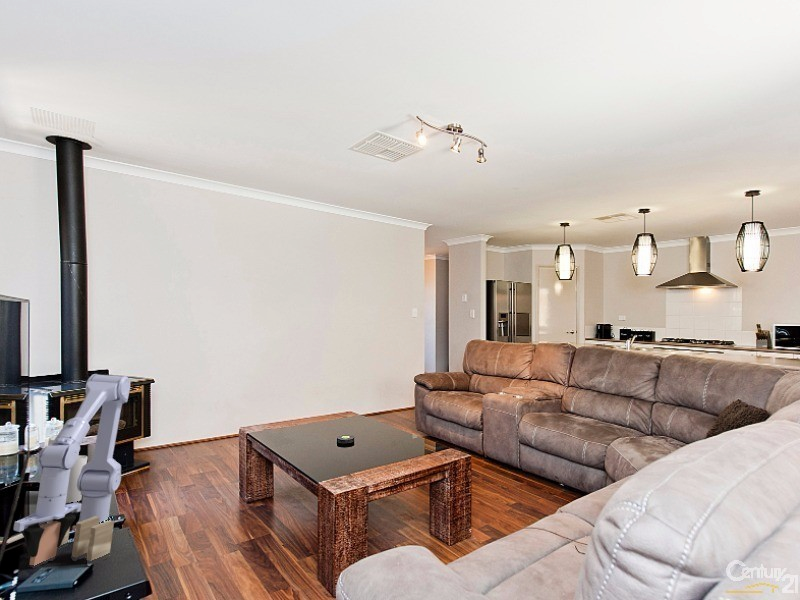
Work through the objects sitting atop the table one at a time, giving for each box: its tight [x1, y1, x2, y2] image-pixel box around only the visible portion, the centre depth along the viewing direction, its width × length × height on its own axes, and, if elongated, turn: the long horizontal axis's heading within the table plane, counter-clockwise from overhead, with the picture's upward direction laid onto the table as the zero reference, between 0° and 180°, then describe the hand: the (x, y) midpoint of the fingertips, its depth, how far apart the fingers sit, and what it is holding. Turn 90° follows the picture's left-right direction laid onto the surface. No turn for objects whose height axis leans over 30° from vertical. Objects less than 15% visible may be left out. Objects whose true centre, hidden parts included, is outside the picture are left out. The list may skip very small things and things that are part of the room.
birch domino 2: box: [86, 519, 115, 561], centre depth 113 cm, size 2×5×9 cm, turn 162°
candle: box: [47, 436, 88, 504], centre depth 148 cm, size 11×7×20 cm, turn 120°
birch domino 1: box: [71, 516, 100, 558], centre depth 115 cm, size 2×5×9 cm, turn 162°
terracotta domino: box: [29, 521, 61, 566], centre depth 110 cm, size 2×5×9 cm, turn 162°
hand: (44, 550), depth 110 cm, fingers closed on terracotta domino, 5 cm apart
